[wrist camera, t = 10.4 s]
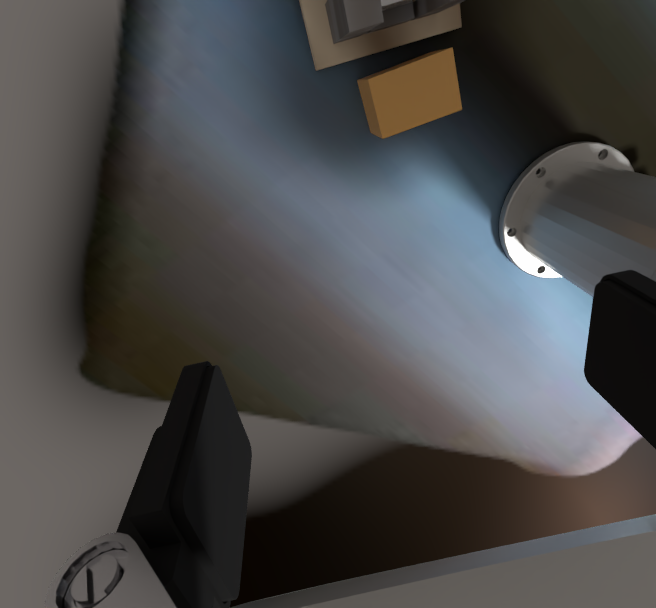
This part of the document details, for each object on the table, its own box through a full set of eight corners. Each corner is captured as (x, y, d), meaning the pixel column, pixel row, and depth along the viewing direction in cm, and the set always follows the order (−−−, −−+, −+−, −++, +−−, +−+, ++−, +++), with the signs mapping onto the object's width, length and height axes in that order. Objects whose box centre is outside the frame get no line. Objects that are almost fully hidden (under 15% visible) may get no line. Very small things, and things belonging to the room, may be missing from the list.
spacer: (452, 47, 28) (462, 109, 30) (430, 51, 32) (440, 106, 34) (367, 79, 28) (382, 139, 30) (356, 80, 32) (370, 132, 34)
